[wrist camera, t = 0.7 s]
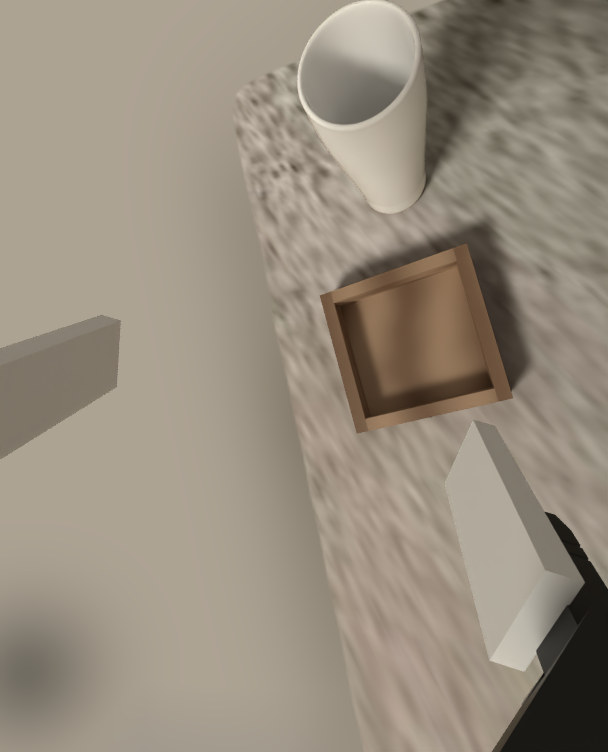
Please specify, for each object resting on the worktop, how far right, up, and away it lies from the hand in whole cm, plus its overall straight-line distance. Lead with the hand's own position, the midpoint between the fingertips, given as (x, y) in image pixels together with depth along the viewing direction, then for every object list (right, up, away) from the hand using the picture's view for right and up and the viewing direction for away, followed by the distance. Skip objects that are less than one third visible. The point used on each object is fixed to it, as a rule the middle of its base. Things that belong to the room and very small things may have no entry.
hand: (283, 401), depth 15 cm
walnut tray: (+10, +4, +20) cm, 23 cm away
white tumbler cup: (+9, +17, +21) cm, 28 cm away
